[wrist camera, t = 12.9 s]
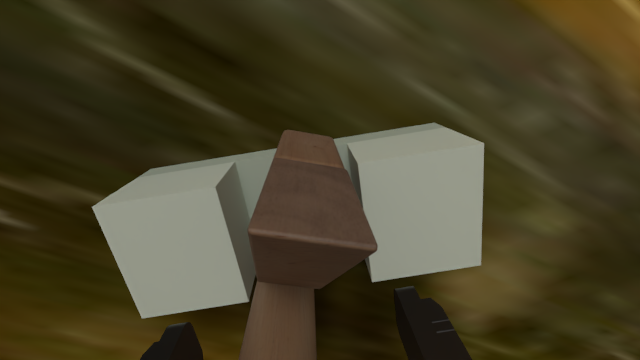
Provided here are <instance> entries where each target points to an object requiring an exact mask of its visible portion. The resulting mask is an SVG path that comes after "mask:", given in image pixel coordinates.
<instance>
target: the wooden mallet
mask: <svg viewBox="0 0 640 360" xmlns="http://www.w3.org/2000/svg"><path fill="white" fill-rule="evenodd" d="M247 231H248V237H249V242H250V247H251V252H252V257H253V262H254V267H255V272H256V277H257V283H256V287H255V292H254V296H253V300H252V304H251V309H250V313H249V317H248V322H247V326H246V330H245V335H244V339H243V343H242V347H241V352H240V356H239V360H317V354H316V327H315V300H314V289H320V288H322V287H324V286H325V285H327V284H328V283H330V282H331V281H333V280H334V279H336V278H337V277H339V276H340V275H342V274H343V273H345V272H346V271H348V270H349V269H351V268H352V267H354V266H355V265H357V264H358V263H360V262H361V261H363V260H364V259H366V258H367V257H369V256H370V255H372V254H373V253H375V252H376V251H377V248H378V245H377V242H376V240H375V237H374V235H373V232H372V230H371V227H370V225H369V223H368V220H367V218H366V215H365V213H364V210H363V208H362V205H361V203H360V200H359V198H358V196H357V193H356V191H355V188H354V186H353V183H352V181H351V178H350V176H349V174H348V171H347V170H346V169H344V165H343V163H342V160H341V157H340V155H339V152H338V150H337V147H336V145H335V142H334V140H333V139H332V138H331V137H328V136H322V135H316V134H310V133H304V132H298V131H293V130H285V131H284V132H283V134H282V136H281V139H280V142H279V144H278V147H277V150H276V153H275V155H274V158H273V161H272V163H271V166H270V169H269V171H268V174H267V177H266V180H265V182H264V185H263V188H262V190H261V193H260V196H259V199H258V201H257V204H256V207H255V210H254V212H253V215H252V218H251V220H250V223H249V226H248V229H247Z"/></svg>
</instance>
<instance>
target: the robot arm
mask: <svg viewBox="0 0 640 360" xmlns="http://www.w3.org/2000/svg"><path fill="white" fill-rule="evenodd" d="M394 299H395V310H396V320H397V326H398V330H399V334H400V337H401V340H402V343H403V345H404V348H405V351H406V354H407V356H408V359H409V360H472V359H471V357H470V355H469V353H468V352H467V350H466V348H465V346H464V345H463V343H462V341H461V340H460V338H459V336H458V334H457V333H456V331H455V330H454V327H453V326H452V324H451V322H450V321H449V319H448V317H447V315H446V314H445V312H444V310H443V308H442V307H441V306H440V305H439V304H437V303H436V302H435V301H434V300H433V299H431V298H426V299H420V298H419V296H418V294H417V292H416V290H415V288H414V287H413V286H410V287H404V288H398V289H394ZM140 360H203V352H202V349H201V346H200V344H199V341H198V339H197V336H196V334H195V331H194V329H193V326H192V324H191V323H190V322H186V323H180V324H174V325H169V326H168V327H167V328H166V330H165V332H164V334H163V335H162V337H161V339H160V341H159V342H154V343H153V345H152V346H151V347H150V348H149V349H148V350H147V351H146V352H145V353H144V354H143V355H142V357H141V359H140Z"/></svg>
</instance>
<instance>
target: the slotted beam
mask: <svg viewBox="0 0 640 360" xmlns="http://www.w3.org/2000/svg"><path fill="white" fill-rule="evenodd" d="M333 140H334V142H335V145H336V147H337V150H338V152H339V155H340V157H341V160H342V163H343V165H344V169H346V170H347V171H348V174H349V176H350V178H351V181H352V183H353V186H354V188H355V191H356V193H357V196H358V198H359V200H360V203H361V205H362V208H363V210H364V213H365V215H366V218H367V220H368V223H369V225H370V227H371V230H372V232H373V235H374V237H375V240H376V242H377V245H378V248H377V251H376V252H375V253H373V254H372V255H370V256H369V257H367V258H366V259H365V261H366V264H367V268H368V271H369V274H370V277H371V280H372V282H377V281H383V280H390V279H396V278H402V277H409V276H415V275H421V274H428V273H434V272H441V271H447V270H453V269H460V268H466V267H472V266H479V265H481V243H482V204H483V165H484V143H482V142H480V141H477V140H475V139H472V138H470V137H468V136H465V135H463V134H460V133H458V132H455V131H453V130H451V129H448V128H446V127H443V126H441V125H438V124H436V123H430V124H424V125H417V126H411V127H405V128H399V129H393V130H387V131H381V132H375V133H368V134H362V135H356V136H350V137H344V138H338V139H333ZM276 150H277V149H271V150H264V151H258V152H252V153H246V154H240V155H234V156H228V157H222V158H215V159H209V160H203V161H197V162H191V163H185V164H179V165H173V166H167V167H160V168H154V169H150V170H149V171H147V172H146V173H144V174H143V175H141V176H139V177H138V178H136V179H135V180H133V181H132V182H130V183H129V184H127V185H125V186H124V187H122V188H121V189H119V190H118V191H116V192H114V193H113V194H111V195H110V196H108V197H107V198H105V199H104V200H102V201H100V202H99V203H97V204H96V205H94V206H93V207H92V208H93V211H94V213H95V215H96V217H97V219H98V222H99V224H100V226H101V228H102V231H103V233H104V235H105V237H106V239H107V242H108V244H109V246H110V248H111V251H112V253H113V255H114V257H115V259H116V262H117V264H118V266H119V268H120V271H121V273H122V275H123V277H124V279H125V282H126V284H127V286H128V288H129V291H130V293H131V295H132V297H133V299H134V302H135V304H136V306H137V308H138V311H139V313H140V315H141V317H142V318H148V317H154V316H161V315H167V314H173V313H180V312H186V311H193V310H199V309H205V308H212V307H218V306H224V305H231V304H237V303H243V302H249V299H250V295H251V291H252V287H253V283H254V279H255V275H256V272H255V267H254V262H253V257H252V252H251V247H250V242H249V237H248V231H247V229H248V226H249V223H250V220H251V218H252V215H253V212H254V210H255V207H256V204H257V201H258V199H259V196H260V193H261V190H262V188H263V185H264V182H265V180H266V177H267V174H268V171H269V169H270V166H271V163H272V161H273V158H274V155H275V153H276Z"/></svg>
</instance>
